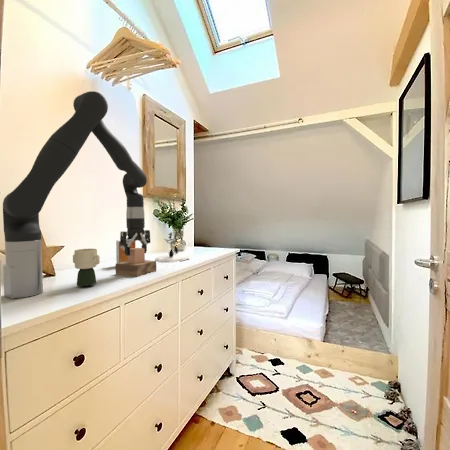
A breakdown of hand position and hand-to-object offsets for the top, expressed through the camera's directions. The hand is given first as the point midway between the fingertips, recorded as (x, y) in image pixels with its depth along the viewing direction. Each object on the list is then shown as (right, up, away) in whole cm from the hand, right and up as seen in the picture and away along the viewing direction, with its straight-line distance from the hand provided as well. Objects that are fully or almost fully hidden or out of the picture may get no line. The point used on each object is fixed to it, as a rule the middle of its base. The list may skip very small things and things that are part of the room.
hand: (136, 254), depth 115 cm
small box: (-11, -8, +17) cm, 21 cm away
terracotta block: (0, -4, 0) cm, 4 cm away
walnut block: (0, -9, 0) cm, 8 cm away
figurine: (+9, -8, +36) cm, 38 cm away
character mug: (-10, -9, -22) cm, 26 cm away
